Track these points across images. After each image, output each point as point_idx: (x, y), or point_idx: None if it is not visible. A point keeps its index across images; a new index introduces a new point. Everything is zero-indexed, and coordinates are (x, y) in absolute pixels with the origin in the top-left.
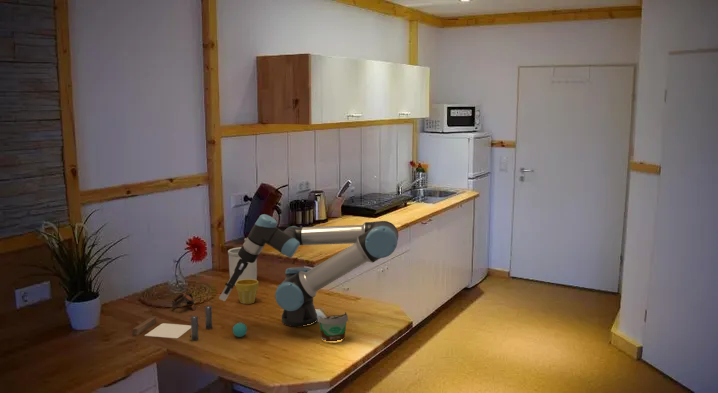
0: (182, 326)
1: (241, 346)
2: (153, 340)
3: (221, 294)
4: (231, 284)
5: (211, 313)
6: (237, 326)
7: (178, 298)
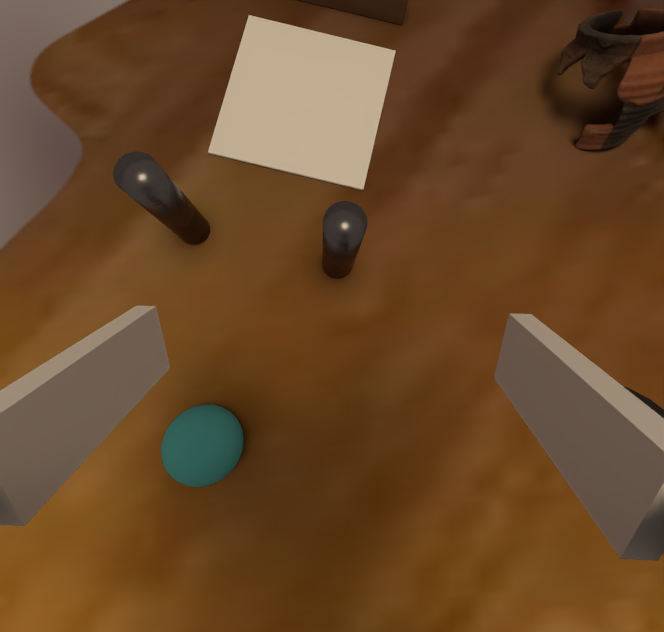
0: (353, 142)
1: (86, 462)
2: (194, 64)
3: (100, 333)
4: (520, 384)
5: (337, 256)
6: (166, 442)
7: (656, 29)
